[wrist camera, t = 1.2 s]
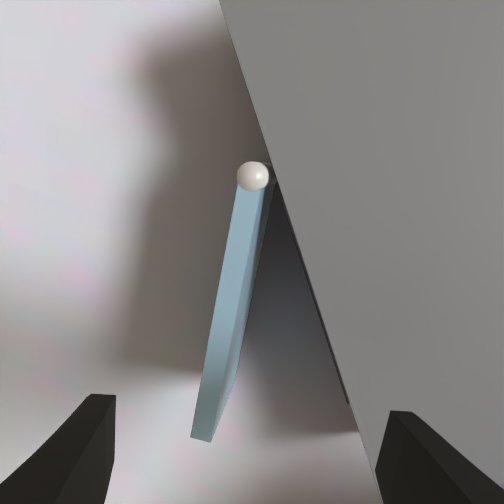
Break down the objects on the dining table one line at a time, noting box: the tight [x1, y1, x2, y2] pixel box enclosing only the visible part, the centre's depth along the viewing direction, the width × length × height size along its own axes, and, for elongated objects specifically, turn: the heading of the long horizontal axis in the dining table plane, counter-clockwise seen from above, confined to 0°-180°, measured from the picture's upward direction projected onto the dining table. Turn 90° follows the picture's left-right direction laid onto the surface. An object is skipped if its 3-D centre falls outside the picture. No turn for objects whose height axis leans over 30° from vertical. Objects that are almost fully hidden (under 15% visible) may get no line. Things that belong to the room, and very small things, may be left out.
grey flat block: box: [219, 0, 504, 503], centre depth 17 cm, size 20×10×5 cm, turn 19°
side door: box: [190, 161, 277, 443], centre depth 19 cm, size 10×1×5 cm, turn 169°
